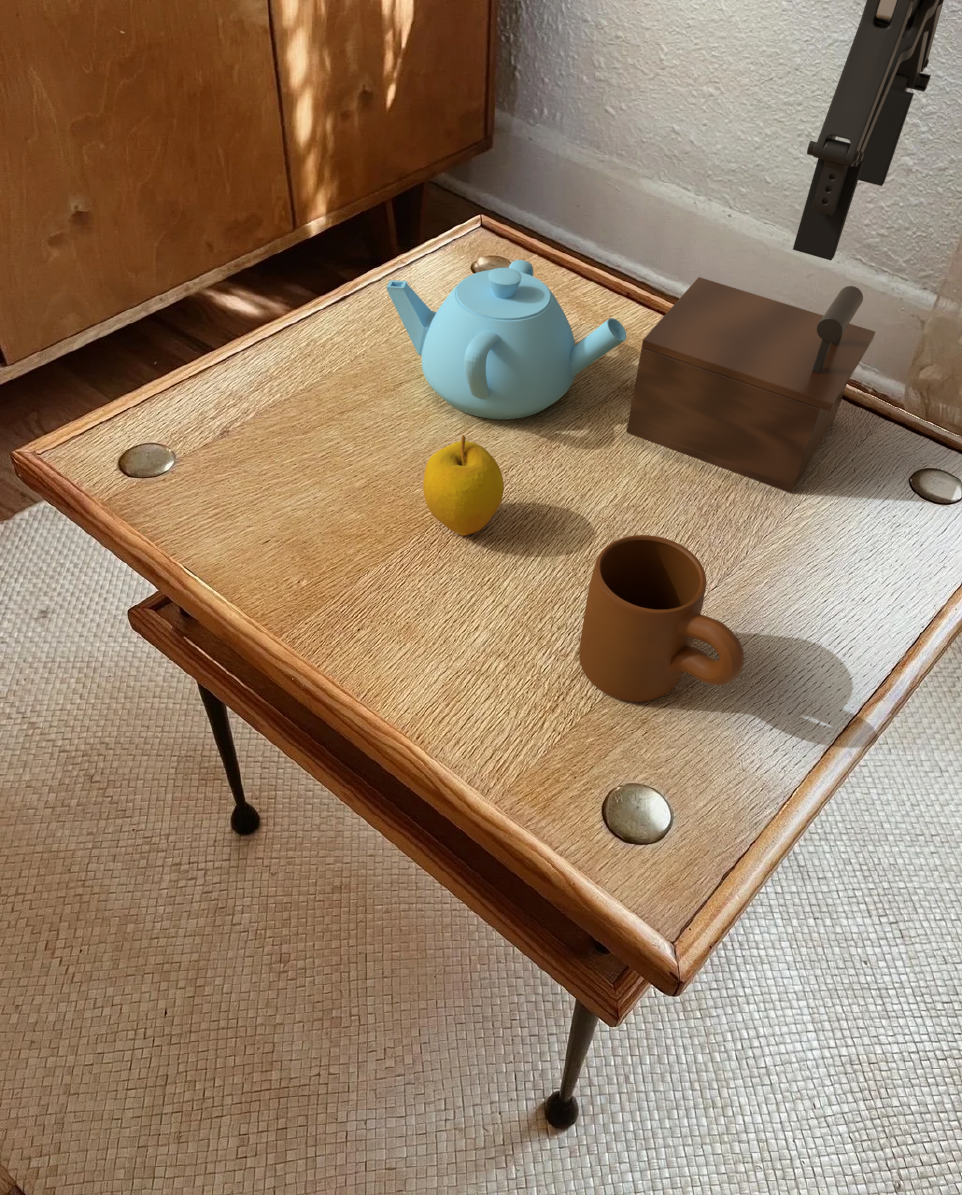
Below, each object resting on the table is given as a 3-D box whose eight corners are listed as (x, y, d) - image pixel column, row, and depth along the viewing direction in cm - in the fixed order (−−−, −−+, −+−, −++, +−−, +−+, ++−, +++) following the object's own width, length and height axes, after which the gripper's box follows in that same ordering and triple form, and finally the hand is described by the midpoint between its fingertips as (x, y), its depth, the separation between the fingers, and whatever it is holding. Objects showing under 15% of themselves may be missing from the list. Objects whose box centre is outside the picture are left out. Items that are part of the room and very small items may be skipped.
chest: (834, 419, 96) (863, 337, 89) (791, 493, 88) (820, 409, 82) (679, 366, 101) (696, 285, 94) (626, 432, 93) (641, 348, 87)
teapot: (485, 460, 89) (492, 348, 81) (383, 364, 99) (380, 255, 91) (621, 406, 96) (639, 297, 88) (513, 321, 105) (520, 216, 97)
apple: (466, 488, 87) (469, 410, 81) (516, 528, 83) (523, 450, 78) (406, 519, 84) (404, 441, 78) (455, 562, 80) (458, 484, 75)
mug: (752, 708, 72) (787, 617, 65) (680, 766, 68) (708, 676, 61) (627, 610, 78) (647, 517, 71) (555, 658, 74) (568, 565, 67)
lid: (873, 339, 89) (895, 278, 85) (830, 411, 81) (852, 348, 77) (697, 284, 94) (709, 224, 90) (641, 347, 87) (652, 285, 82)
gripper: (932, -184, 68) (837, 142, 83) (824, -111, 52) (732, 272, 68) (1051, -167, 65) (931, 165, 81) (975, -86, 50) (844, 306, 65)
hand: (840, 215), depth 74 cm, fingers open, 13 cm apart
